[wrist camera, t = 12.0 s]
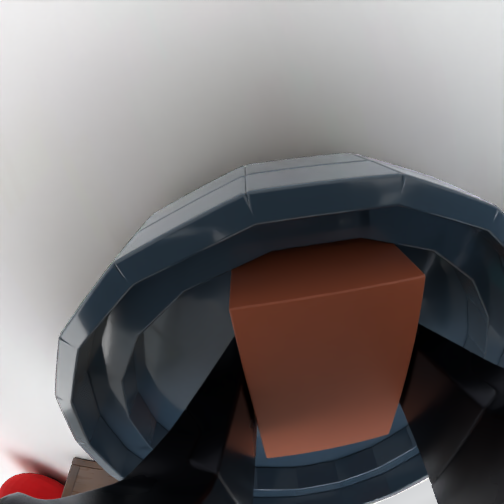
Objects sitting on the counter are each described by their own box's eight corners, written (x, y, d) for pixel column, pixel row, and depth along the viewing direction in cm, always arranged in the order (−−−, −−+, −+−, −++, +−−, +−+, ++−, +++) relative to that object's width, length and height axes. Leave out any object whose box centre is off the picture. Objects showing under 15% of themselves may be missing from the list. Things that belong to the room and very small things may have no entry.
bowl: (516, 147, 8) (585, 169, 5) (441, 432, 15) (459, 472, 12) (28, 212, 8) (-40, 257, 5) (175, 477, 15) (169, 523, 12)
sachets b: (374, 224, 8) (426, 274, 6) (365, 373, 11) (389, 434, 8) (232, 245, 8) (228, 309, 6) (261, 391, 11) (266, 458, 8)
